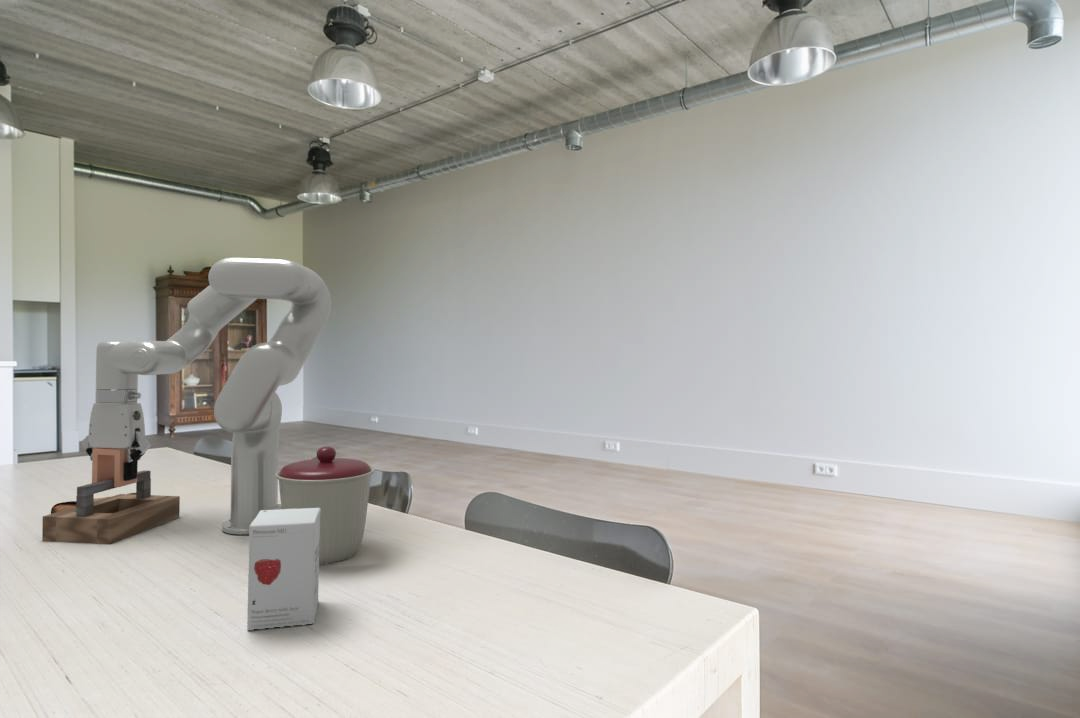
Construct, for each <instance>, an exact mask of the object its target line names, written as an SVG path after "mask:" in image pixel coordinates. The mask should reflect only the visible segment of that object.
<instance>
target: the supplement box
mask: <svg viewBox="0 0 1080 718" xmlns="http://www.w3.org/2000/svg"><path fill="white" fill-rule="evenodd" d="M320 511H321V509H320V508H303V509H279V510H261V511H260V512H259V513H258V515H257V516H256V518H255V519H254V520H253V522H252V523H251V525H250V527H249V534H248V573H247V574H248V583H247V584H248V585H247V623H246V624H247V626H246V627H247V631H248V630H249V631H255V630H254V629H259V630H266V629H265V628H269V629H275V628H274V627H280V628H285V627H284V626H291V627H294V626H293V625H302V626H304V625H303V624H312V623H313V624H314V622H315V619H316V614H317V609H318V606H319V605H318V604H319V584H320V583H319V577H320V575H319V574H320V573H319V572H320V564H319V542H320ZM313 624H312V625H313Z"/></svg>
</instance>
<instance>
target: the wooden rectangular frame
mask: <svg viewBox="0 0 1080 718" xmlns="http://www.w3.org/2000/svg"><path fill="white" fill-rule="evenodd" d="M151 473H152V472H151V470H141V471H140V470H139V471H137V483H135V484H136V485H135V486H136V487H135V488H136V489H135V490H136V491H135V493H136V495H133V494H129V493H119V494H116V495H113V496H107V497H108V498H105V497H104V498H105V499H101V500H98V501H94V499H95V497H94V494H99V493H102V492H105V491H109V490H113V489H117V488H118V487H114V478H111V479H107V480H103V481H99V482H95V483H92V482H91V483H88V484H84V485H80V486H76V496H75V497H76V498H75V499H76V500H75V501H76V507H74V508H70V509H67V510H63V511H60V512H56V513H53V514H51V513H50V514H46V515H43V516H42V535H41V536H42V537H41V539H42V542H56V543H57V542H60V543H76V544H77V543H78V544H79V543H80V544H81V543H82V544H83V543H84V544H103V545H112V544H114V543H117V542H119V541H122V540H126V539H127V538H130V537H132V536H135V535H137V534H139V533H143V532H145V531H148V530H150V529H154V528H156V527H158V526H161V525H163V524H166V523H169V522H171V521H173V520H177V519H180V511H181V510H180V504H181V503H180V501H181V499H180V496H179V495H157V494H156V495H154V494H152V493H151V492H152V490H151V489H152V479H151V475H152V474H151Z"/></svg>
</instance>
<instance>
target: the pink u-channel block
mask: <svg viewBox="0 0 1080 718" xmlns="http://www.w3.org/2000/svg"><path fill="white" fill-rule="evenodd" d="M137 449H139V447H137ZM130 452H131V455H132V450H130ZM124 462H127V461H126V459H125V456H124V450H123V449H101V448H95V449H93V451H92V461H91V463H92V464H91V467H92V468H91V483H95V482H99V481H103V480H107V479H111V478H114V487H117V488H121V487H125V486H128V485H132V484H136V483H137V478H136V479H132V480H128V481H124V479H123V476H124ZM138 465H139V464H138V463H137V468H138Z"/></svg>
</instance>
